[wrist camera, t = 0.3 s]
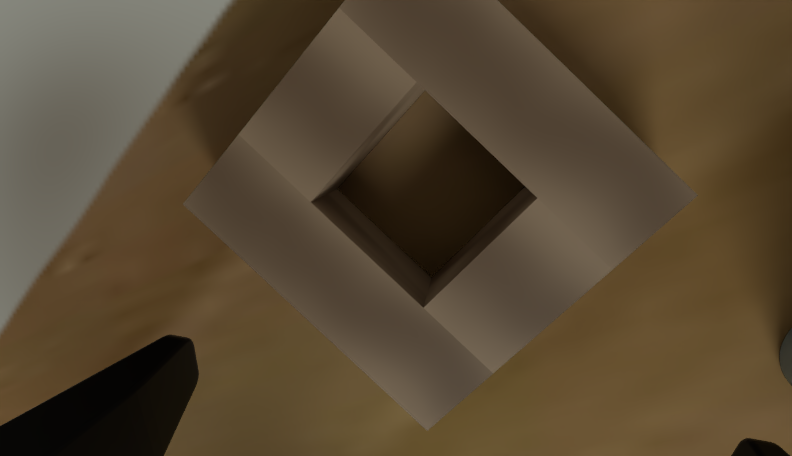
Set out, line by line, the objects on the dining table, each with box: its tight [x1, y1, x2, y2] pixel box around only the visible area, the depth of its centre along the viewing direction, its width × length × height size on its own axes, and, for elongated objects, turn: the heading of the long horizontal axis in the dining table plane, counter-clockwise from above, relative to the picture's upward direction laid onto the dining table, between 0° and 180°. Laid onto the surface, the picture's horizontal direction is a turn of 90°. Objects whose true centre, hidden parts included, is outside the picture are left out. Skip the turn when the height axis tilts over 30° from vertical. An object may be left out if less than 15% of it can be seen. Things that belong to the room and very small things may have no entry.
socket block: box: [183, 0, 698, 431], centre depth 21 cm, size 14×14×4 cm
